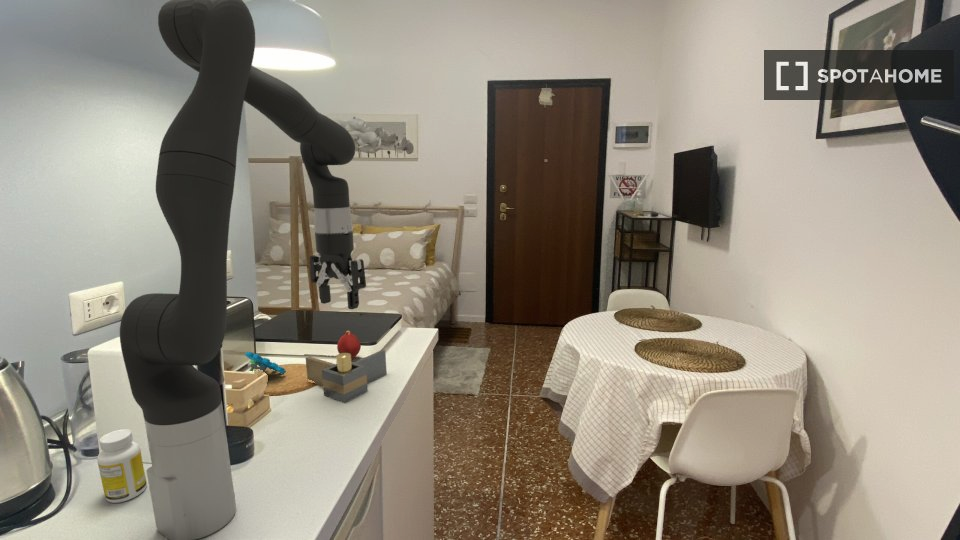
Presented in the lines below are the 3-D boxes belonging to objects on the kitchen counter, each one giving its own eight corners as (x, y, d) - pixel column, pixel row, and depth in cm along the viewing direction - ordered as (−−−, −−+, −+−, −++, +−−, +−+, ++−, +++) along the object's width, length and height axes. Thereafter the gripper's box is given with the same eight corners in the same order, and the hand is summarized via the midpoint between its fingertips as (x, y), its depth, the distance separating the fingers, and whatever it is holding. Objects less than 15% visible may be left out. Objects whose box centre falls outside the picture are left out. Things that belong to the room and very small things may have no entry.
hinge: (344, 403, 107) (342, 376, 106) (297, 386, 115) (295, 361, 114) (395, 376, 120) (394, 352, 118) (349, 363, 128) (347, 341, 127)
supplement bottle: (140, 477, 82) (130, 422, 80) (152, 490, 79) (142, 433, 77) (100, 494, 78) (89, 437, 76) (111, 509, 75) (100, 449, 73)
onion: (336, 358, 132) (334, 328, 130) (358, 354, 134) (356, 325, 132) (340, 366, 127) (338, 335, 125) (363, 361, 129) (361, 332, 127)
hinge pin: (346, 398, 109) (343, 359, 107) (336, 394, 111) (333, 356, 109) (356, 392, 112) (353, 354, 110) (347, 389, 113) (344, 351, 111)
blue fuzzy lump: (294, 371, 120) (260, 351, 114) (281, 394, 117) (245, 375, 111) (273, 365, 127) (239, 346, 121) (259, 387, 125) (224, 369, 118)
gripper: (296, 229, 105) (302, 305, 108) (343, 233, 97) (349, 315, 100) (325, 225, 111) (330, 297, 114) (371, 229, 103) (376, 306, 106)
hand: (339, 305), depth 107 cm, fingers open, 8 cm apart
